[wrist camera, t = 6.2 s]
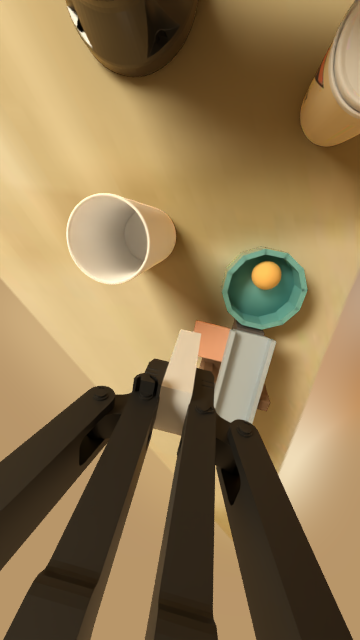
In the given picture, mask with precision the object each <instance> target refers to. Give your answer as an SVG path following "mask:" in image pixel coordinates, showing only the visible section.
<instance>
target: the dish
mask: <svg viewBox="0 0 360 640" xmlns="http://www.w3.org/2000/svg"><path fill="white" fill-rule="evenodd" d="M263 261H271V262H274V263H276V264H277V265H278V266H279V267H280V269H281V280H280V282H279V283H278V284H277V286H275V287H274V288H272V289H268V290H263V289H260V288H258V287H256V286H255V285H254V283H253V281H252V271H253V269H254V267H255V266H256V265H257V264H259V263H261V262H263ZM221 287H222V294H223V298H224V301H225V305H226V308H227V312H229V313H230V314H231V315H232V316H233V317H234V318H235V319H236V320H237V321H238V322H239V323H240V324H242V325H245V326H249V327H253V328H257V329H261V330H262V329H266V328H270V327H275V326H279V325H283V324H284V323H285V322H286V321H288V320H289V319H290V318H291V317H292V316H294V315H295V314H296V313H297V312H298V311H300V308H301V306H302V303H303V301H304V298H305V296H306V293H307V291H308V289H307V284H306V278H305V273H304V269H303V268H302V267H301V266H300V265H299V264H298V263H297V262H296V261H295V260H294V259H293V258H292V257H291V256H290V255H289V254H288V253H286V252H283V251H279V250H275V249H270V248H266V247H257V248H254V249H251V250H248V251H245V252H242V253H240V254H239V255H238V256H237V257H236V258H235V259H234V260H233V261H232V262H231V263H230V264H229V265H228V266H227V267H226V271H225V275H224V279H223V282H222V286H221Z"/></svg>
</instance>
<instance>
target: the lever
mask: <svg viewBox="0 0 360 640" xmlns="http://www.w3.org/2000/svg"><path fill="white" fill-rule="evenodd" d="M194 332H196V333H201V339H200V346H199V352H198V356H200V357H204V358H208V359H212V360H216V361H220V362H221V366H220V370H219V373H218V377H217V381H216V383H214V408H215V410H216V413H217V414H218V415H219V416H220V417H221V418H223V419H225V420H226V421H228V422H230V423H231V422H232V421H234V420H237V419H241V420H246V421H248V422H250V423H251V424H252V423H253V420H254V416H255V413H256V409H257V406H258V403H259V399H260V396H261V392H262V389H263V386H264V382H265V379H266V375H267V372H268V369H269V365H270V362H271V358H272V355H273V351H274V348H275V345H276V341H275V340H273V339H270V338H268V337H265V336H261V335H257V334H253V333H248V332H244V331H240V330H236V329H233V330H232V329H230V328H228V327H223V326H219V325H215V324H211V323H207V322H203V321H198V320H196V323H195V328H194Z"/></svg>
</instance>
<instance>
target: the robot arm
mask: <svg viewBox="0 0 360 640" xmlns="http://www.w3.org/2000/svg"><path fill="white" fill-rule="evenodd" d="M66 4H67V7H68V10H69V13H70V16H71V18H72V21H73V23H74V25H75V27H76V29H77V31H78V33H79V35H80V37H81V38H82V40H83V41H84V43H85V44H86V45H87V47H88V48H89V50H90V51H91V52H92V54H93V55H94V56H95V57H96V58H97V60H98V61H99V62H101V63H102V64H103V65H104V66H105V67H107V68H108V69H110V70H111V71H113V72H115V73H118V74H121V75H124V76H131V77H137V76H144V75H148V74H151V73H153V72H155V71H157V70H159V69H161V68H162V67H163V66H165V65H166V64H167V63H168V62H169V61H170V60H172V58H173V57H174V56H175V55H176V54H177V53H178V51H179V50H180V48H181V47H182V45H183V44H184V42H185V40H186V38H187V36H188V34H189V32H190V30H191V27H192V24H193V21H194V18H195V14H196V9H197V4H198V0H66ZM200 339H201V333H196V332H192V331H188V330H183V329H180V332H179V335H178V338H177V341H176V344H175V347H174V350H173V353H172V356H171V359H170V362H167V361H163V360H159V359H154V360H152V361H151V362H149V364H148V366H147V368H146V371H145V373H142V374H139V375H137V376H136V377H135V378H134V384H133V391H132V393H129V394H124V395H115V393H114V391H113V390H112V389H111V388H109V387H106V386H97V387H93V388H91V389H90V390H88V391H87V392H86V393H85V394H83V395H82V396H81V397H80V398H78V399H77V400H76V401H75V402H73V403H72V404H71V405H70V406H69V407H67V408H66V409H65V410H64V411H63V412H61V413H60V414H59V415H58V416H56V417H55V418H54V419H53V420H51V421H50V422H49V423H48V424H46V425H45V426H44V427H43V428H42V429H40V430H39V431H38V432H37V433H36V434H34V435H33V436H32V437H31V438H30V439H28V440H27V441H26V442H24V443H23V444H22V445H21V446H19V447H18V448H17V449H16V450H15V451H13V452H12V453H11V454H10V455H9V456H7V457H6V458H5V459H4V460H2V461H1V462H0V570H1V569H2V568H3V567H4V565H5V564H6V563H7V562H8V561H9V559H10V558H11V557H12V556H13V555H14V554H15V553H16V551H17V550H18V549H19V548H20V547H21V545H22V544H23V543H24V542H25V541H26V539H27V538H28V537H29V536H30V535H31V533H32V532H33V531H34V530H35V529H36V527H37V526H38V525H39V524H40V523H41V521H42V520H43V519H44V518H45V516H46V515H47V514H48V513H49V512H50V511H51V509H52V508H53V507H54V506H55V505H56V503H57V502H58V501H59V500H60V499H61V497H62V496H63V495H64V494H65V493H66V491H67V490H68V489H69V488H70V487H71V486H72V484H73V483H74V482H75V481H76V479H77V478H78V477H79V476H80V475H81V473H82V472H83V471H84V470H85V469H86V468H87V466H88V465H89V464H90V463H91V461H92V460H93V459H94V458H95V457H96V456H97V454H98V453H99V452H100V451H101V450H102V448H103V447H104V446H105V445H106V444H107V445H106V447H105V449H104V451H103V453H102V455H101V457H100V460H99V461H98V463H97V465H96V467H95V470H94V471H93V474H92V476H91V478H90V480H89V482H88V484H87V486H86V488H85V490H84V492H83V494H82V496H81V498H80V500H79V502H78V504H77V506H76V508H75V511H74V513H73V515H72V517H71V519H70V521H69V523H68V525H67V527H66V529H65V531H64V533H63V535H62V537H61V539H60V541H59V543H58V545H57V547H56V550H55V551H54V553H53V555H52V558H51V559H50V562H49V563H48V565H47V566H46V568H45V569H44V570H43V571H42V572H41V573H39V574H38V576H37V577H36V579H35V580H34V581H33V583H32V585H31V587H30V589H29V590H28V592H27V594H26V596H25V598H24V600H23V602H22V604H21V606H20V608H19V610H18V612H17V614H16V616H15V618H14V620H13V622H12V624H11V626H10V628H9V630H8V632H7V634H6V636H5V637H4V640H90V638H91V634H92V631H93V627H94V623H95V620H96V617H97V614H98V610H99V607H100V603H101V601H102V597H103V594H104V591H105V587H106V584H107V581H108V577H109V574H110V571H111V568H112V564H113V561H114V558H115V554H116V551H117V548H118V544H119V541H120V538H121V535H122V531H123V528H124V525H125V521H126V518H127V514H128V511H129V508H130V505H131V502H132V498H133V495H134V491H135V488H136V485H137V482H138V478H139V475H140V472H141V469H142V465H143V462H144V459H145V455H146V452H147V449H148V446H149V442H150V439H151V435H152V430H153V428H154V429H158V430H162V431H166V432H170V433H174V434H177V435H181V440H180V444H179V448H178V452H177V461H176V466H175V472H174V478H173V483H172V489H171V495H170V500H169V506H168V512H167V517H166V523H165V529H164V534H163V540H162V546H161V551H160V557H159V563H158V569H157V574H156V580H155V585H154V591H153V597H152V602H151V608H150V614H149V619H148V625H147V631H146V636H145V640H218V636H217V628H216V625H215V622H214V619H213V558H214V556H213V555H214V502H215V465H216V469H217V473H218V478H219V482H220V486H221V490H222V495H223V499H224V503H225V507H226V512H227V516H228V520H229V525H230V529H231V533H232V537H233V542H234V546H235V550H236V554H237V559H238V563H239V567H240V571H241V575H242V580H243V584H244V588H245V593H246V597H247V601H248V606H249V610H250V614H251V618H252V623H253V627H254V631H255V636H256V639H257V640H353V639H352V636H351V634H350V632H349V630H348V628H347V626H346V623H345V621H344V619H343V617H342V615H341V612H340V610H339V608H338V606H337V604H336V601H335V599H334V597H333V595H332V593H331V590H330V588H329V586H328V584H327V582H326V579H325V578H324V575H323V573H322V571H321V568H320V566H319V564H318V562H317V560H316V558H315V555H314V553H313V551H312V549H311V546H310V544H309V542H308V540H307V538H306V536H305V533H304V531H303V529H302V527H301V524H300V522H299V520H298V518H297V516H296V514H295V511H294V509H293V507H292V505H291V502H290V500H289V498H288V496H287V494H286V492H285V489H284V487H283V485H282V483H281V481H280V479H279V476H278V474H277V472H276V470H275V467H274V465H273V463H272V461H271V459H270V456H269V454H268V452H267V450H266V448H265V445H264V443H263V441H262V439H261V437H260V434H259V432H258V430H257V429H256V427H255V426H253V425H252V424H251V423H250V422H248V421H246V420H241V419H237V420H234V421H232V422H231V423H230V422H228V421H226V420H225V419H223V418H221V417H220V416H219V415H218V414H217V413H216V410H215V408H214V381H215V377H214V375H213V374H212V372H211V371H207V370H203V369H199V368H196V366H197V359H198V352H199V346H200ZM107 442H108V443H107Z"/></svg>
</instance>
